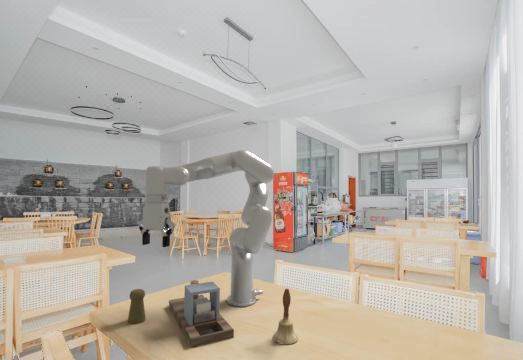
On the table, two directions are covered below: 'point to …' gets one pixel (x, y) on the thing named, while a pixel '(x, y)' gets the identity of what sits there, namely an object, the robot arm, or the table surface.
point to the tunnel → (201, 289)
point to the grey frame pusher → (204, 315)
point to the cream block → (201, 305)
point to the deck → (200, 326)
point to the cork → (136, 307)
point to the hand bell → (285, 324)
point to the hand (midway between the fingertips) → (155, 245)
